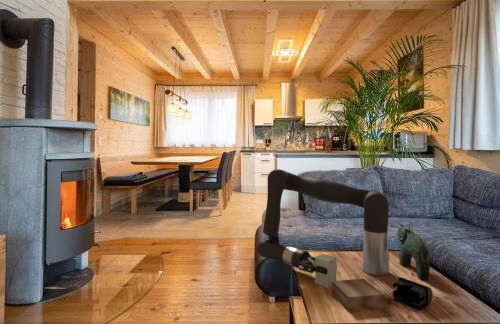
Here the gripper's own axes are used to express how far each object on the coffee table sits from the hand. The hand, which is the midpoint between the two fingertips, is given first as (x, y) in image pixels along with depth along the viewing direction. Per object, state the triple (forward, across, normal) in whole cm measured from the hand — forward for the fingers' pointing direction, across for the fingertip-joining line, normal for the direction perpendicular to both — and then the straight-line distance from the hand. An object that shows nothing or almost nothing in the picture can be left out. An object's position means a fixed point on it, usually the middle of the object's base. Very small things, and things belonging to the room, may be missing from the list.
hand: (331, 269), depth 115 cm
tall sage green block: (-3, 0, +6) cm, 7 cm away
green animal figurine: (+15, +37, +6) cm, 41 cm away
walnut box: (+12, -4, +6) cm, 14 cm away
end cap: (+25, +9, +6) cm, 27 cm away
